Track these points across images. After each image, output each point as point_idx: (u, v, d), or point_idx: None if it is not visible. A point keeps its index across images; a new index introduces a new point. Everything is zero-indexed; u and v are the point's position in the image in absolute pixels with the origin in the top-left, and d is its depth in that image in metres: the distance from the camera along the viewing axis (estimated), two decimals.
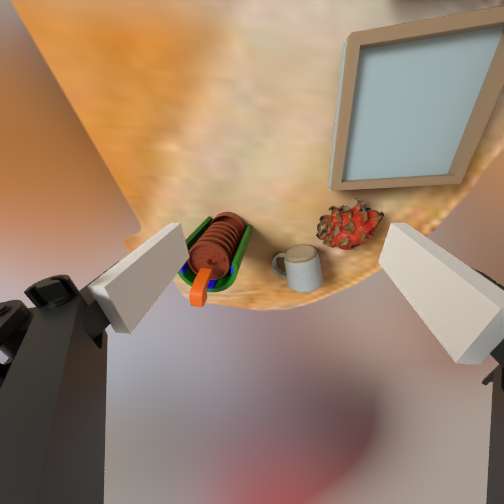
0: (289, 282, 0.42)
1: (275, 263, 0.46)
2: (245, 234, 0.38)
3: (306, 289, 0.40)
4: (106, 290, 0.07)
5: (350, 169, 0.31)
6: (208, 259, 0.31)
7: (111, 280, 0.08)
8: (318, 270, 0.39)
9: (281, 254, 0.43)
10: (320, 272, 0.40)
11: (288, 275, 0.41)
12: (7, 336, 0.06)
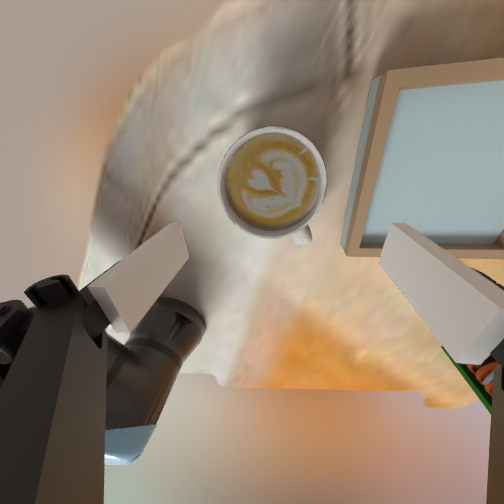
0: None
1: None
2: None
3: None
4: (106, 290, 0.07)
5: (484, 232, 0.23)
6: None
7: (111, 280, 0.08)
8: None
9: None
10: None
11: None
12: (7, 336, 0.06)
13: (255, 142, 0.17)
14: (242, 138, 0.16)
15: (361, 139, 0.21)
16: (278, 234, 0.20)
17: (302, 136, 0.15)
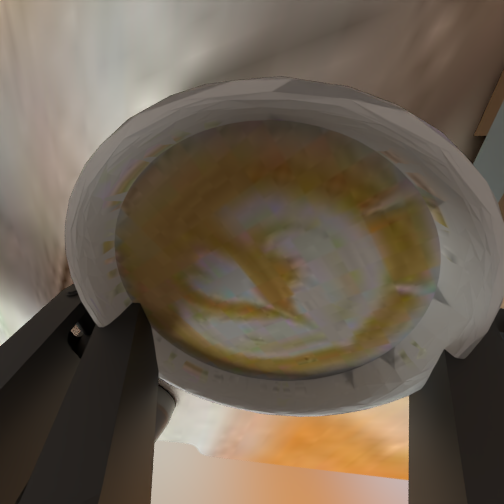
0: None
1: None
2: None
3: None
4: None
5: None
6: None
7: None
8: None
9: None
10: None
11: None
12: (81, 314, 0.07)
13: (193, 163, 0.04)
14: (108, 150, 0.03)
15: (489, 149, 0.08)
16: (283, 406, 0.07)
17: (435, 140, 0.03)
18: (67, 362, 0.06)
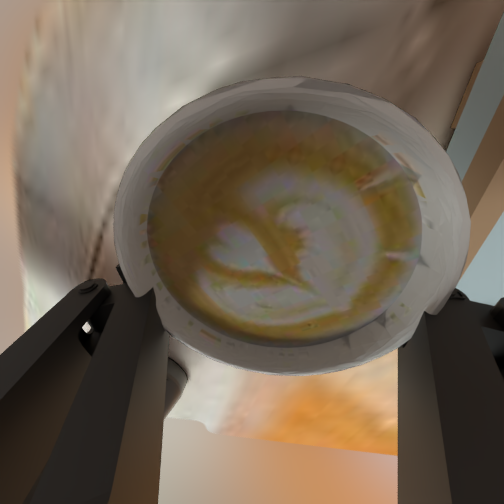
0: None
1: None
2: None
3: None
4: None
5: None
6: None
7: None
8: None
9: None
10: None
11: None
12: (92, 312, 0.07)
13: (222, 145, 0.05)
14: (163, 131, 0.04)
15: (457, 138, 0.10)
16: (288, 367, 0.08)
17: (410, 124, 0.04)
18: (78, 359, 0.06)
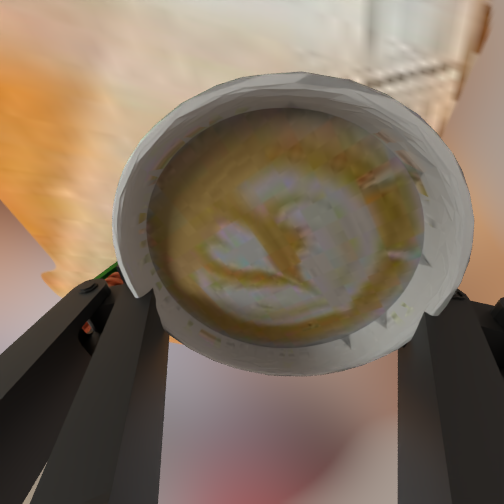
0: None
1: None
2: None
3: None
4: None
5: None
6: None
7: None
8: None
9: None
10: None
11: None
12: (92, 312, 0.07)
13: (222, 143, 0.05)
14: (162, 128, 0.04)
15: None
16: (288, 367, 0.08)
17: (413, 120, 0.03)
18: (78, 359, 0.06)
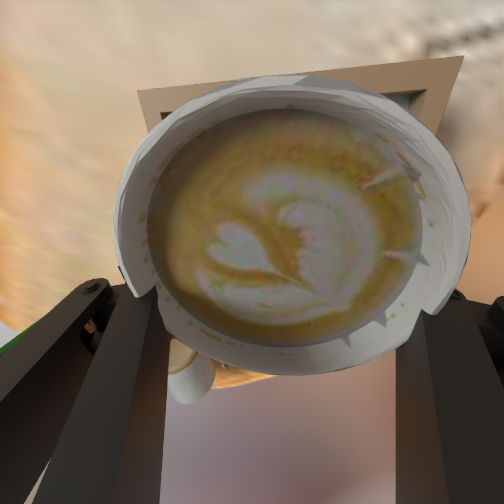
0: None
1: None
2: None
3: (183, 401, 0.30)
4: None
5: None
6: None
7: None
8: (197, 379, 0.29)
9: None
10: (203, 378, 0.30)
11: None
12: (94, 311, 0.07)
13: (222, 144, 0.05)
14: (162, 129, 0.04)
15: None
16: (288, 367, 0.08)
17: (411, 122, 0.04)
18: (80, 358, 0.06)
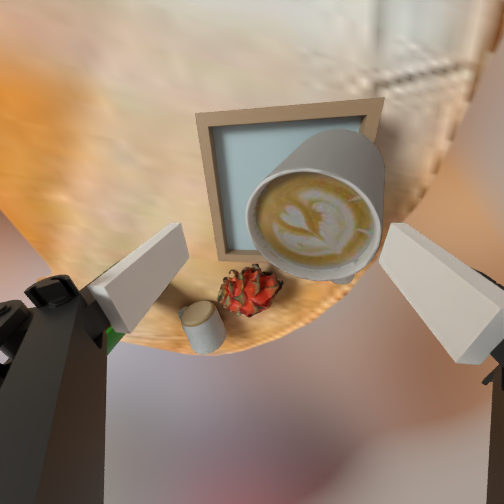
0: None
1: None
2: None
3: (201, 351, 0.37)
4: (106, 290, 0.07)
5: (236, 239, 0.28)
6: None
7: (111, 280, 0.08)
8: (213, 333, 0.37)
9: (184, 308, 0.41)
10: (217, 334, 0.38)
11: None
12: (7, 336, 0.06)
13: (293, 177, 0.13)
14: (274, 176, 0.13)
15: None
16: (307, 275, 0.17)
17: (355, 187, 0.11)
18: None
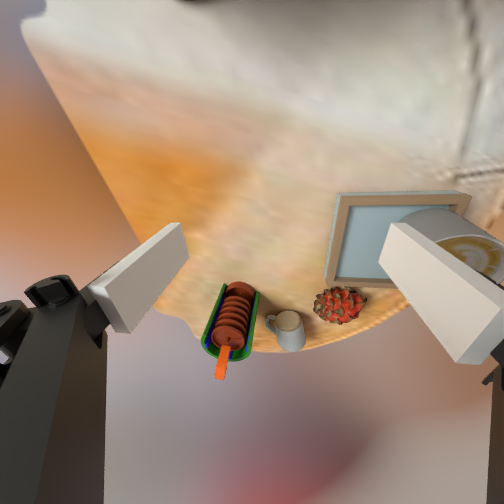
0: (278, 341, 0.51)
1: (267, 321, 0.55)
2: (255, 305, 0.46)
3: (291, 350, 0.49)
4: (106, 290, 0.07)
5: (341, 270, 0.39)
6: (227, 337, 0.39)
7: (111, 280, 0.08)
8: (301, 336, 0.48)
9: (272, 316, 0.52)
10: (303, 336, 0.49)
11: (277, 336, 0.50)
12: (7, 336, 0.06)
13: (455, 237, 0.24)
14: (451, 237, 0.23)
15: (421, 191, 0.32)
16: None
17: (503, 245, 0.22)
18: None
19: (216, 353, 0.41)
